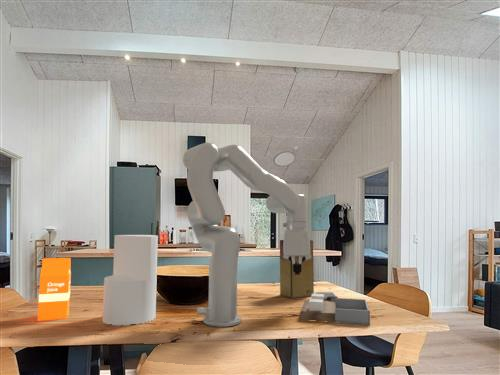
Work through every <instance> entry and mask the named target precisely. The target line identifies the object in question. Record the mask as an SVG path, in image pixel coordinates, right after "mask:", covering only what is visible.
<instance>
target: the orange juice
mask: <svg viewBox="0 0 500 375" xmlns="http://www.w3.org/2000/svg"><path fill="white" fill-rule="evenodd" d="M71 260H72V259H71V257H54V258H53V257H51V258H49V257H47V258H42V264H41V269H40V276H39V293H38V307H37V308H38V311H37V321H38V322H40V321H51V320H52V321H53V320H66V319H68V316H69V314H70V299H71V298H70V296H71V278H72V271H71V268H72V267H71Z"/></svg>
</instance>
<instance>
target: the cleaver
mask: <svg viewBox="0 0 500 375" xmlns="http://www.w3.org/2000/svg"><path fill="white" fill-rule="evenodd" d="M314 294H324V301H327V302H336V298H339V297H338V296H336V295H335V293H334V292H331V291H330V292H329V291H328V292H325V291H324V292H321V291H320V292H314Z"/></svg>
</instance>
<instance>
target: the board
mask: <svg viewBox="0 0 500 375" xmlns="http://www.w3.org/2000/svg"><path fill="white" fill-rule="evenodd" d="M309 301H310V299H309V300H304V302H303V305H302V307H301V309H300V321H305V320H316V321H315V322H319V321H327V322H326V323H333V322H335V308H336V302H329V301H327V300H324V305H323V311H309Z"/></svg>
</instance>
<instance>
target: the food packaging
mask: <svg viewBox="0 0 500 375" xmlns="http://www.w3.org/2000/svg"><path fill="white" fill-rule="evenodd" d="M283 241H284V239H280V240H279V281H280V282H279V291H280V292H279V296H281V297H284V296H285V297H284V298H288V299H298V298H306V297H311V295H312V294H315V292H314V290H315V289H314V288H315V285H314V241H313V239H310V254H311V259H307V260H304V261H303V262H302V263H301V268H302V272H300V275H298V274H297V275H295V272H293V263H292V262H291V261H290V260H289V259H285V258H283V255H284V253H283ZM303 257H305V256H303ZM295 258H296V262H297V264H298V262H299V256H295Z"/></svg>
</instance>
